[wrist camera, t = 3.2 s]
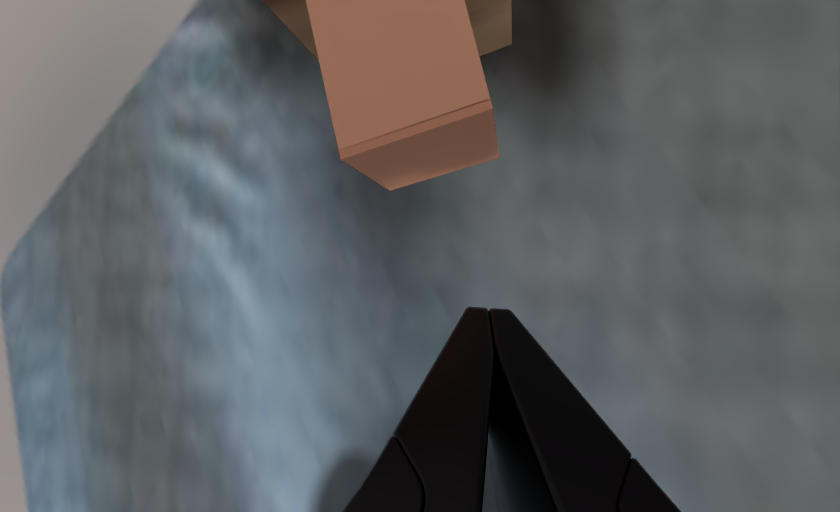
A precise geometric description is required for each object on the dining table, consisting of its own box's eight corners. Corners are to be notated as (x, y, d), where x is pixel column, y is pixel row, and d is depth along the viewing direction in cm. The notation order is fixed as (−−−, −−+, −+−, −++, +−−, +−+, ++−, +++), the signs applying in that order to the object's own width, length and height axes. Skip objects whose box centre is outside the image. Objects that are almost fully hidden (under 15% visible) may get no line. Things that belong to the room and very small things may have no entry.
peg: (499, 157, 14) (492, 108, 10) (389, 190, 15) (340, 159, 11) (437, -82, 15) (406, -222, 11) (337, -36, 16) (273, -147, 12)
